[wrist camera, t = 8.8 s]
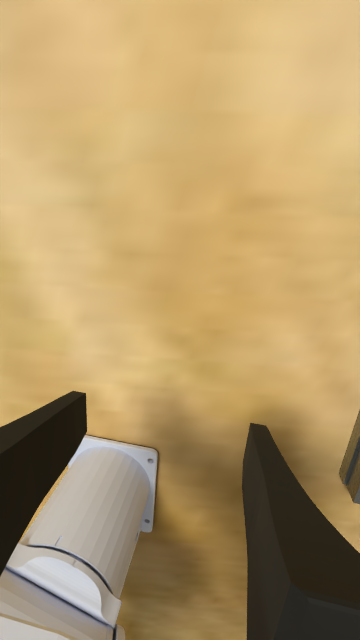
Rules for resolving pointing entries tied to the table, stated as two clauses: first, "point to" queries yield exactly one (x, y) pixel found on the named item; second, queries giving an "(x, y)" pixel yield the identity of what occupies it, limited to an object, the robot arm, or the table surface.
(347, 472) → the rail
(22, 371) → the table surface
